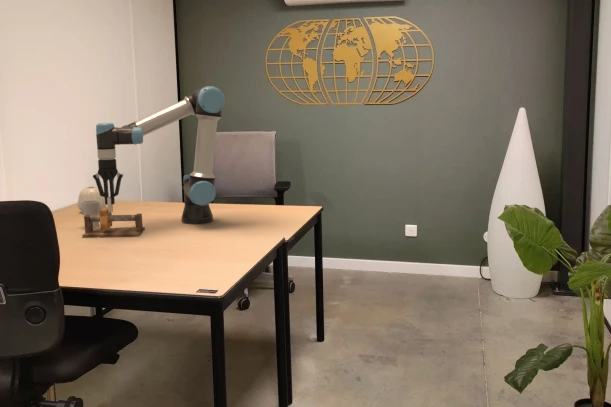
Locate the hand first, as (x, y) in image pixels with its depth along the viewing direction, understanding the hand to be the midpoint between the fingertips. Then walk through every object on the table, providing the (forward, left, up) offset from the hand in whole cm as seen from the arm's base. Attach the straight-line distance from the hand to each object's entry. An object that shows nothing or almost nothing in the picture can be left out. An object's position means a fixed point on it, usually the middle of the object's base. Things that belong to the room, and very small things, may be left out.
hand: (110, 211), depth 269 cm
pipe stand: (-1, 0, -10) cm, 10 cm away
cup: (+13, -15, -10) cm, 22 cm away
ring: (+2, 0, -7) cm, 8 cm away
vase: (+23, -52, -10) cm, 58 cm away
